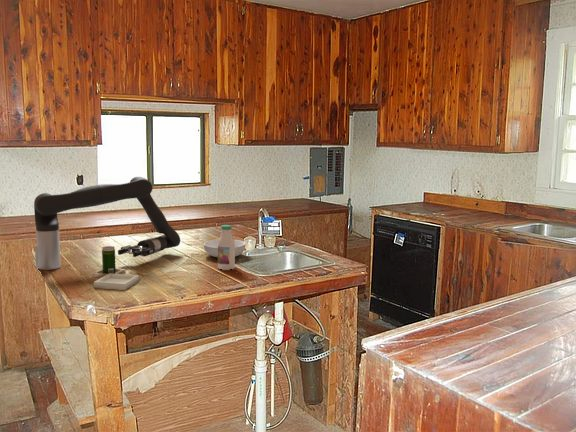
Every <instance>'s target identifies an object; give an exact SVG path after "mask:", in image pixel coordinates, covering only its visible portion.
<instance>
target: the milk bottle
mask: <svg viewBox="0 0 576 432" xmlns="http://www.w3.org/2000/svg"><path fill="white" fill-rule="evenodd" d="M220 227H221V233H220V237H219V238H218V239H219V242H218V258H217V268H219V269H218V270H220V269H222V270H221V271H231V270H230V269H232V270H235V267H236V265H235V263H236V257H235V243H234V238H233V235H232V224H231V225H230V224H222V225H221V226H220Z"/></svg>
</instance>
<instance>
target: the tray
mask: <svg viewBox="0 0 576 432" xmlns="http://www.w3.org/2000/svg"><path fill="white" fill-rule="evenodd" d="M139 282H140V275H139V274H126V273H123V274H111V273H109V274H108V275H106V276H104V277H102V278H100V277H99V279H96V280H95V281H93V288H95V289H104V290H105V289H106V290H119V291H126V290H128V289H130V288H131V287H132V286H134V285H135V284H137V283H139Z"/></svg>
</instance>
